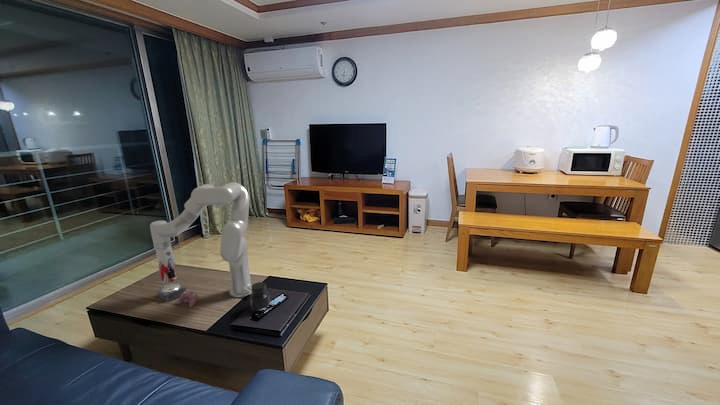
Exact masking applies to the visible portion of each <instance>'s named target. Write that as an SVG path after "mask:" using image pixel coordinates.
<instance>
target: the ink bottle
mask: <svg viewBox="0 0 720 405" xmlns="http://www.w3.org/2000/svg"><path fill="white" fill-rule="evenodd" d="M251 291H252V293H251V294H250V296H249V299H250V309H251V311H253V310H254V311H253V312H255V311H257V310H259V309H262V308H264V307H266V306H267V305H268V304H269V303H270V304H271V300H270V293H269V292H268V291H267V284H266V283H265V282H261V281H259V282H256V283H253V284H252V286H251Z"/></svg>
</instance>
